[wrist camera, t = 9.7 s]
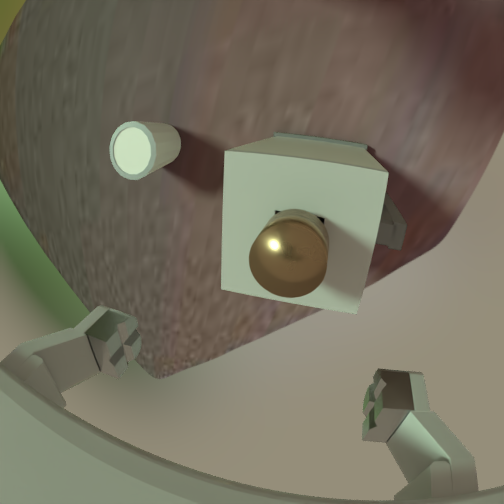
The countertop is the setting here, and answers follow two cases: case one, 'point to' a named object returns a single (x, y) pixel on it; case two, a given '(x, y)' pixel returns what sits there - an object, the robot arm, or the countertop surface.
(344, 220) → the block
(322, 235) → the plunger
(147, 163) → the shot glass
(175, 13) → the countertop surface
